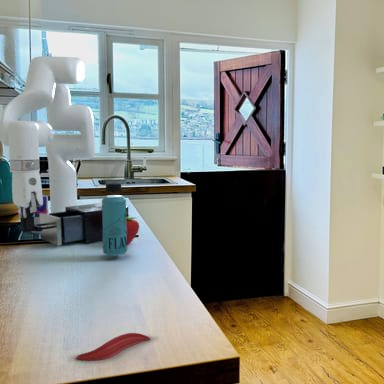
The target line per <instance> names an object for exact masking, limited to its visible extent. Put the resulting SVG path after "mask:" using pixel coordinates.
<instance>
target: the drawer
mask: <svg viewBox="0 0 384 384" xmlns="http://www.w3.org/2000/svg"><path fill="white" fill-rule="evenodd" d="M34 226H35V230H37V231H39V232H40V234H39V235H40V240H42V241H45V242H47V243H50V244H53V245H56V246H62V244H63V243H64V244H65V243H72V242H79V241H78V240H84V239H85V226H84V214H80V213H77V212H73V211H63V212H55V213H51V212H50V213H49V212H48V214H45V213H40V224H36V225H35V224H34Z"/></svg>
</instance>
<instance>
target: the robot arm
mask: <svg viewBox="0 0 384 384" xmlns="http://www.w3.org/2000/svg"><path fill="white" fill-rule="evenodd" d="M85 70H86V69H85V64H84V62H83V60H82V59H81V58H79V57H73V56H71V57H70V56H52V55H51V56H47V55H41V56H35V57H33V58H32V59H30V62H29V65H28V71H27V75H26V79H25V84H24V88H23V92H21V93H19V94H18V95H17V96H15V97H13V99H11V100H10V101H9V102H8V103H7V104H6V106H5V107H4V108H3V109H2V112H1V117H0V142H1V144H2V145H3V146H6V147H8V156H9V157H8V158H9V172H10V173H11V174H12V175H11V176H12V178H11V194H12V195H11V196H12V203H13V205H15V206H16V207H17V209H18V212H19V217H20V218H19V219H20V231H21V232H22V233H30V232H31V231H34V230H35V226H34V217H35V212H37V207H36V206H38V207H41V206H42V205H43V196H42V195H43V187H42V178H41V175H40V171H41V168H40V167H41V166H40V165H41V164H40V148H44V147H45V152H46V156H47V157H46V158H47V163H48V171H49V172H48V178H49V202H50V204H49V205H50V206H49V210H50V213H55V212H63V211H65V210H66V209H65V207H70V206H78V185H77V184H78V183H77V181H78V180H77V170H76V168H75V167H74V165H73V164H72V163H71V162H70V161H72V160H74V161H75V160H78V161H79V160H81V161H83V160H91V159H93V158H94V157H95V155H96V138H95V137H96V136H95V135H96V134H95V123H94V121H95V120H94V114H93V111H92V109H91V107H90V106H88V105H87V104H73V103H72V102H71V93H70V92H71V91H70V89H69V87H68V85H76V84H80V83H82V82H83V80H84V79H85V72H86V71H85ZM42 109H45V112H46V119H47V120H46V121H47V122H46V121H42V120H19V119H21V118H22V117H24V116H26V115H28V114H31V113H33V112H34V113H35V112H37V111H39V110H42ZM54 131H61V132H79V133H54ZM31 233H32V232H31Z"/></svg>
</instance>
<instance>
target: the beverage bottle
mask: <svg viewBox="0 0 384 384" xmlns="http://www.w3.org/2000/svg"><path fill="white" fill-rule="evenodd" d="M122 191H123V188H122V183H120V182H108V183H106V184H105V192H106V193H107V192H108V193H119V192H122ZM101 203H102V219H103V238H102V253H103V254H104V255H106V256H119V255H121V256H122V255H125V254H126V253H127V251H128V245H127V228H126V222H127V221H126V216H127V214H126V206H127V199H126V198H125V197H124V196H123V195H122V194H121V195H120V194H110V195H106V196H104V198H102V200H101Z"/></svg>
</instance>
